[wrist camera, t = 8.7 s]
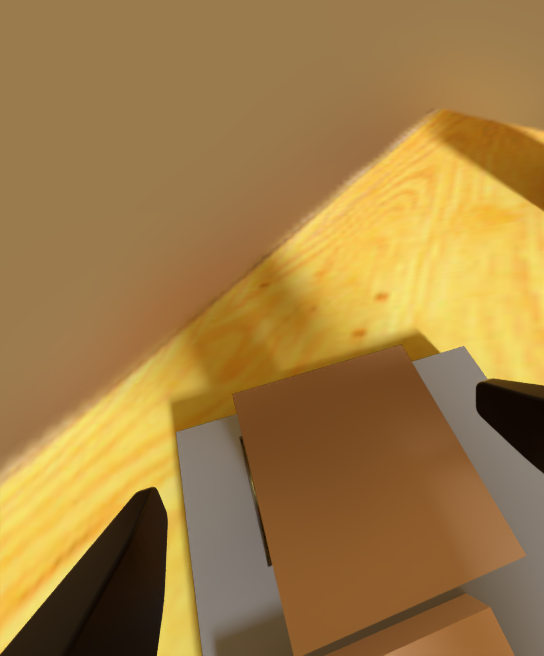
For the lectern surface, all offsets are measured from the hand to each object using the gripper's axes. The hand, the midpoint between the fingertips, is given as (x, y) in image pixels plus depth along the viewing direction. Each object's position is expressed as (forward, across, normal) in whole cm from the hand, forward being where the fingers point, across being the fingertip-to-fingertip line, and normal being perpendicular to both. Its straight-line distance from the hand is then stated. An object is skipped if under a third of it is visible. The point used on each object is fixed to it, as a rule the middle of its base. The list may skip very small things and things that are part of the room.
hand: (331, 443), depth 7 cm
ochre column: (+7, 0, +7) cm, 10 cm away
